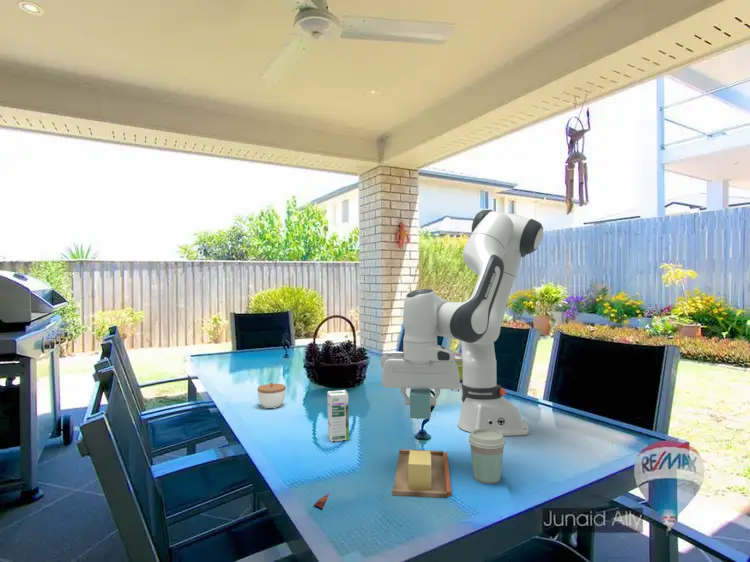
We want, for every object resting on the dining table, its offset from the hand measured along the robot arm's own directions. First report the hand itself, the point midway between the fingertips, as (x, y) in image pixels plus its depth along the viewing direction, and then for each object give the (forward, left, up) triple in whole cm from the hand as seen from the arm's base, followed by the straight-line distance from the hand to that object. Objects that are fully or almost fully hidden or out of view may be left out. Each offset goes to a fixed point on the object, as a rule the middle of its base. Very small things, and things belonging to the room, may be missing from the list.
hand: (420, 405), depth 113 cm
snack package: (+18, +18, -18) cm, 31 cm away
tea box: (-15, -88, -17) cm, 91 cm away
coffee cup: (-16, +7, -17) cm, 24 cm away
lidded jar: (+59, -50, -17) cm, 80 cm away
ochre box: (0, +11, -15) cm, 19 cm away
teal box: (0, 0, -2) cm, 2 cm away
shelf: (0, +6, -17) cm, 18 cm away
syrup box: (+26, -19, -17) cm, 37 cm away
